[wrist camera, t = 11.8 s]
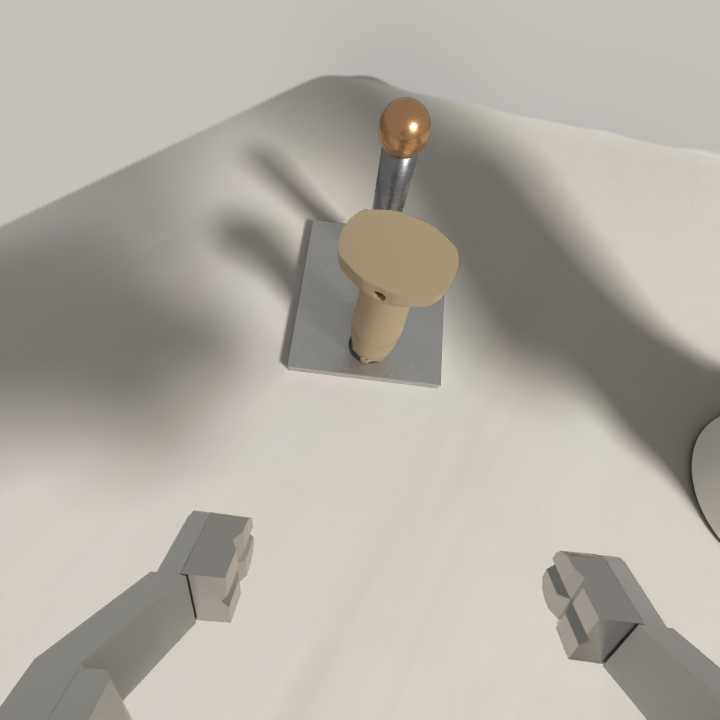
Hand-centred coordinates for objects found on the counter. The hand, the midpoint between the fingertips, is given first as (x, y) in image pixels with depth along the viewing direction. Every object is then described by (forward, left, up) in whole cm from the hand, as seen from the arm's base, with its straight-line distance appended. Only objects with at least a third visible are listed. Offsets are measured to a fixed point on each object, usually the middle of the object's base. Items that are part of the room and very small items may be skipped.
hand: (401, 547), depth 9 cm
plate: (0, -18, -22) cm, 28 cm away
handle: (0, -13, -20) cm, 24 cm away
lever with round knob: (0, -22, -20) cm, 30 cm away
